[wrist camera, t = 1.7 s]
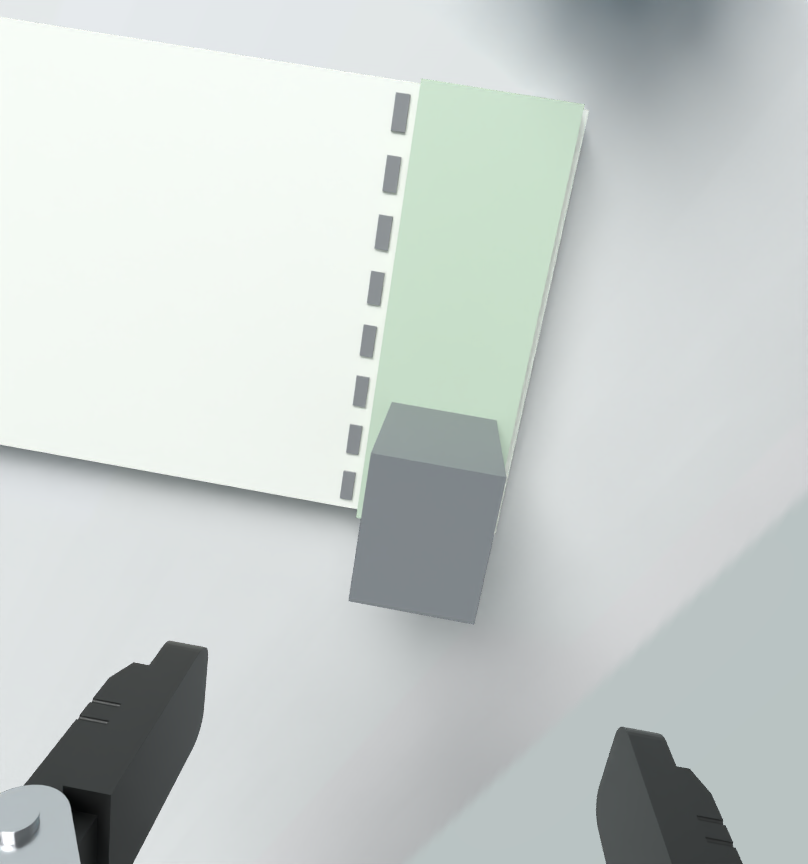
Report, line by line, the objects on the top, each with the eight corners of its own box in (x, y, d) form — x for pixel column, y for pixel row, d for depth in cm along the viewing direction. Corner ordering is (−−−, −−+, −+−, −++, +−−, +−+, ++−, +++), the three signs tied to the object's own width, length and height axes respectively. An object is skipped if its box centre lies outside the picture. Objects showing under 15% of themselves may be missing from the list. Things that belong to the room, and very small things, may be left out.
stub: (422, 82, 22) (406, 23, 16) (581, 107, 22) (629, 58, 16) (358, 511, 27) (326, 596, 21) (488, 535, 27) (496, 628, 21)
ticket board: (-61, 15, 24) (-96, 1, 23) (581, 117, 24) (589, 109, 22) (-41, 422, 29) (-68, 433, 28) (493, 519, 28) (495, 535, 27)
